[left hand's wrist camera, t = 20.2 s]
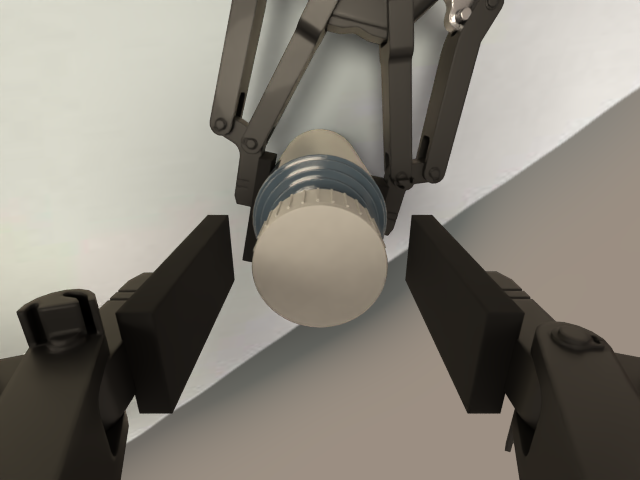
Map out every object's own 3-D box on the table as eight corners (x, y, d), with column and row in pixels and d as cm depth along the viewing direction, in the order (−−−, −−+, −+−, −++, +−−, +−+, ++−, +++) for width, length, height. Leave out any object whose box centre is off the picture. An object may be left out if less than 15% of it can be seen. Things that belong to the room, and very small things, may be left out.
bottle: (296, 116, 27) (262, 144, 11) (371, 146, 28) (440, 214, 12) (270, 191, 29) (210, 305, 13) (341, 217, 30) (364, 355, 14)
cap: (403, 228, 14) (417, 251, 12) (336, 315, 15) (339, 349, 13) (300, 162, 13) (296, 175, 11) (239, 262, 14) (225, 289, 12)
